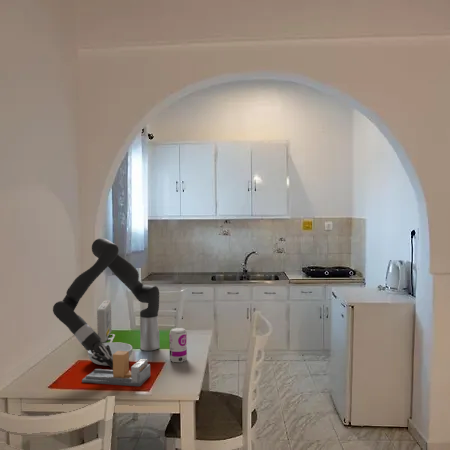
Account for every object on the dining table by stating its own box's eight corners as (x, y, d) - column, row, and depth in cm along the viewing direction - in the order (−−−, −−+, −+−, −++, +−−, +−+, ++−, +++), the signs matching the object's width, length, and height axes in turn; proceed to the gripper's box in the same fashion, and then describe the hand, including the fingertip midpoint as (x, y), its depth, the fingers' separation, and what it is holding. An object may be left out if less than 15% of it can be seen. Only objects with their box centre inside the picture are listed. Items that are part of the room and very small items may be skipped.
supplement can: (190, 360, 218) (189, 329, 217) (177, 364, 211) (176, 332, 211) (179, 356, 223) (178, 326, 223) (166, 360, 217) (165, 329, 217)
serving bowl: (87, 372, 202) (86, 357, 202) (88, 357, 222) (88, 344, 222) (134, 367, 208) (133, 353, 208) (131, 354, 228) (131, 340, 228)
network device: (101, 333, 266) (100, 300, 265) (116, 333, 267) (115, 299, 266) (93, 346, 241) (92, 309, 240) (110, 346, 242) (109, 309, 241)
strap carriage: (113, 377, 191) (112, 354, 191) (118, 373, 196) (117, 350, 196) (139, 379, 189) (139, 355, 188) (144, 375, 194) (143, 352, 193)
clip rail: (81, 382, 190) (81, 364, 190) (95, 372, 202) (95, 355, 202) (140, 386, 185) (139, 368, 185) (150, 375, 197) (150, 358, 197)
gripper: (89, 338, 203) (115, 367, 200) (74, 347, 190) (101, 378, 188) (100, 327, 201) (126, 356, 199) (85, 335, 188) (113, 366, 186)
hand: (114, 366), depth 193 cm, fingers closed
